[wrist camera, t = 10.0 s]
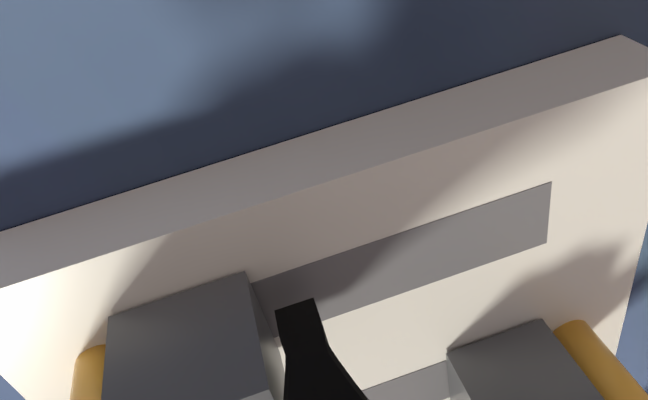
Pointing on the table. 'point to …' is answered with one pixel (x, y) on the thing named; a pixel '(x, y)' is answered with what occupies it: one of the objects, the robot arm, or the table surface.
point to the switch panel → (374, 234)
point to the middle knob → (518, 368)
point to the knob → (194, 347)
